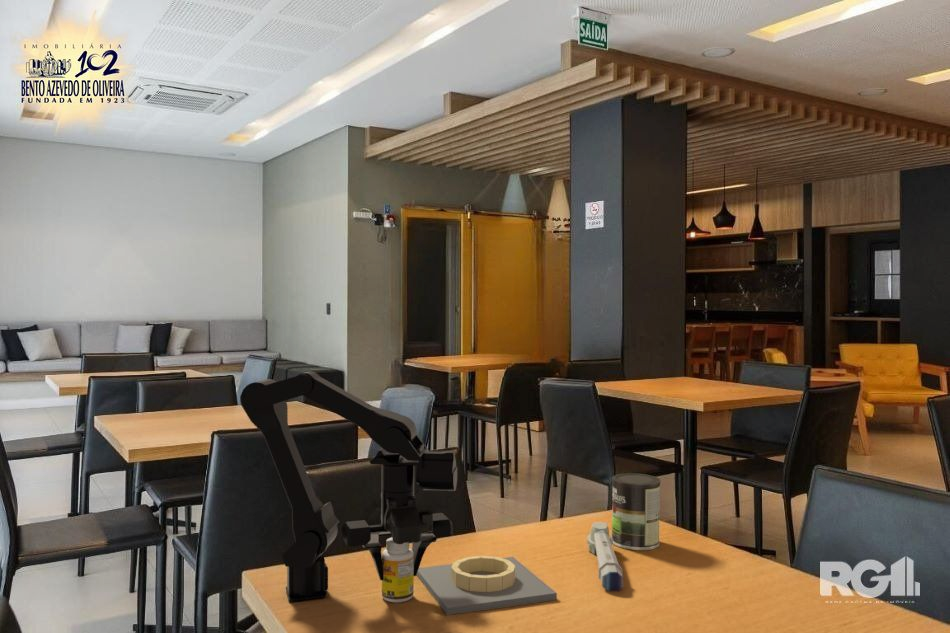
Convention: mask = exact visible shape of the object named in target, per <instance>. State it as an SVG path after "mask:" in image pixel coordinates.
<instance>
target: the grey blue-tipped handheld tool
mask: <svg viewBox="0 0 950 633" xmlns="http://www.w3.org/2000/svg"><path fill="white" fill-rule="evenodd" d="M586 542H587V546H588V547H587V548H588V552H589V553H592V555H595V556H596V559H597V564H598V565H597V566H598V572H597V573H598V575H597V576H598V577H597V578H598V580H600V583H601V586H602V588H603V589H605V591H607V592H608V591H609V592H619V591H620V590H621V589H623V588H624V577H623V573H624V572H623V571H624V570H623V568H622V567H621V566H620V565H619V561H618V558H617V556H616V553H615V551H614V548H613V545H614V544H613V539H612V535H610V529H609V526H608V524H607V522H603V521H594V522H593V523H592V524H591V527H590V533H589V534H588V535H587V536H586Z"/></svg>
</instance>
